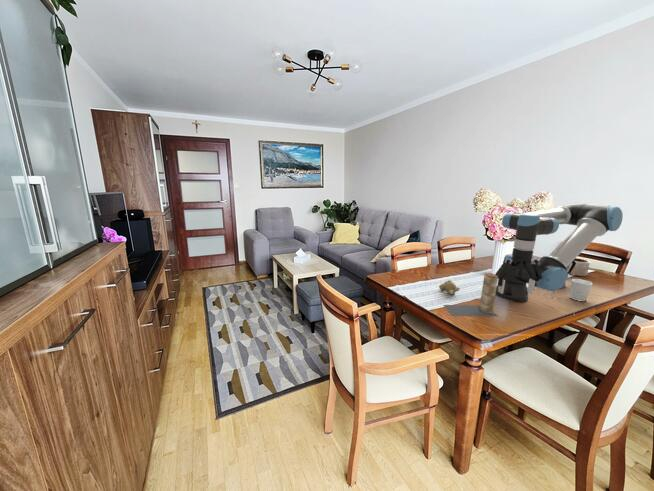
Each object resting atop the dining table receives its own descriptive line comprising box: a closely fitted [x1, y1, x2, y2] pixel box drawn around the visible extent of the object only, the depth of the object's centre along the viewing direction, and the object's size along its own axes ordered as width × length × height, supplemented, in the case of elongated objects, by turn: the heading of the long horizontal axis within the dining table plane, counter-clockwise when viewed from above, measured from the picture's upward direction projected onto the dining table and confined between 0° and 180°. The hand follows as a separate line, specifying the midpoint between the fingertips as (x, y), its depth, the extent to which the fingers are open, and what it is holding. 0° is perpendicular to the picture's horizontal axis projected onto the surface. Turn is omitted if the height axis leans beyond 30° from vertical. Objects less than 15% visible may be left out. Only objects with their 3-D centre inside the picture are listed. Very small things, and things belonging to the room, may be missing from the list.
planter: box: [568, 257, 591, 277], centre depth 182 cm, size 11×11×10 cm
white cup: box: [568, 278, 593, 301], centre depth 143 cm, size 8×8×10 cm
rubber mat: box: [443, 304, 499, 317], centre depth 131 cm, size 21×11×1 cm, turn 89°
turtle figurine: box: [438, 279, 460, 295], centre depth 149 cm, size 8×7×12 cm
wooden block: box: [479, 273, 498, 313], centre depth 129 cm, size 4×4×18 cm
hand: (515, 292), depth 128 cm, fingers open, 13 cm apart
